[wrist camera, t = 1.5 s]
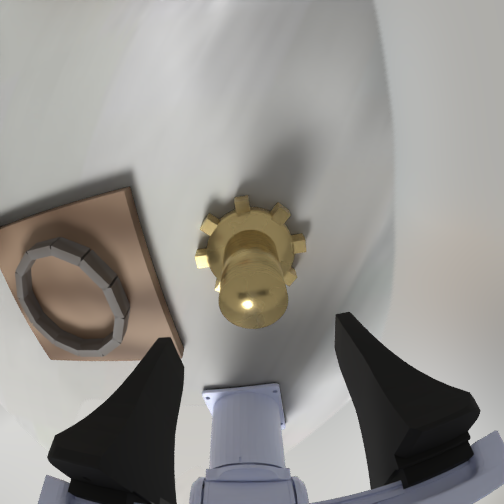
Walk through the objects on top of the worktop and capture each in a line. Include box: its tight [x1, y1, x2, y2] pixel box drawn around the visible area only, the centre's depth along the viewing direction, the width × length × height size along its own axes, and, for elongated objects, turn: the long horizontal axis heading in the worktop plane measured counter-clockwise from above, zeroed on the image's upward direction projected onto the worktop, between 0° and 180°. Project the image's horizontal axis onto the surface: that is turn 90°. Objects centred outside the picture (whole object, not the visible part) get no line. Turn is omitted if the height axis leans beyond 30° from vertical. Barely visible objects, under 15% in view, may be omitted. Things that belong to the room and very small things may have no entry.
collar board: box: [0, 187, 184, 361], centre depth 21 cm, size 15×16×3 cm
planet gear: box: [195, 195, 306, 329], centre depth 18 cm, size 8×8×7 cm
